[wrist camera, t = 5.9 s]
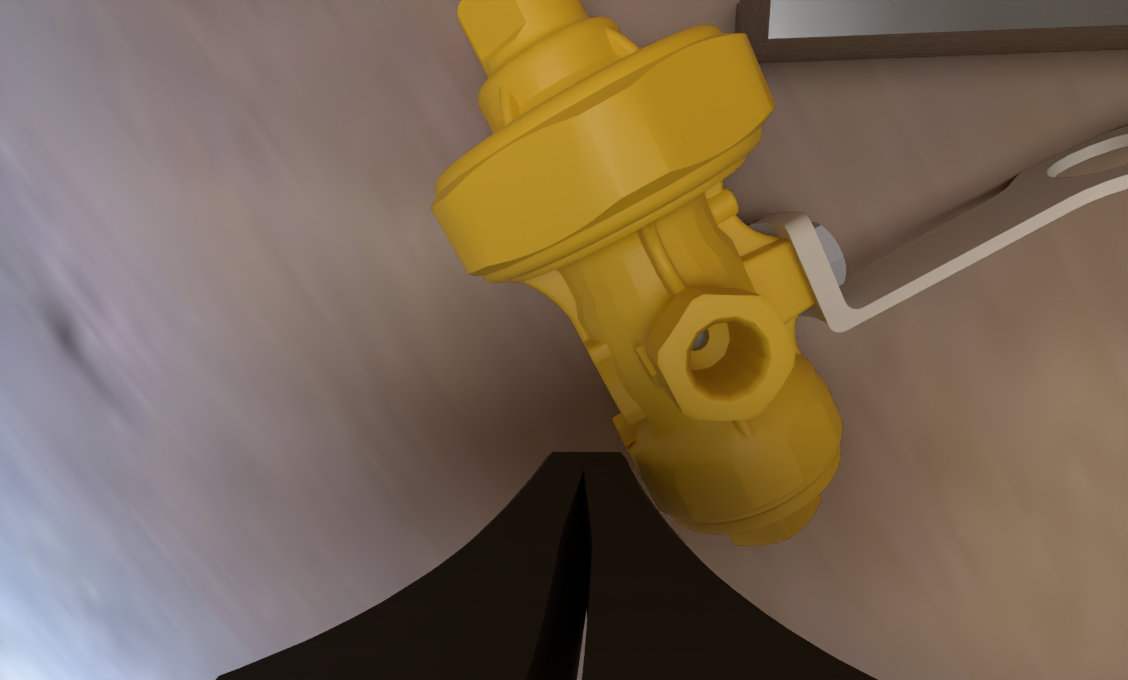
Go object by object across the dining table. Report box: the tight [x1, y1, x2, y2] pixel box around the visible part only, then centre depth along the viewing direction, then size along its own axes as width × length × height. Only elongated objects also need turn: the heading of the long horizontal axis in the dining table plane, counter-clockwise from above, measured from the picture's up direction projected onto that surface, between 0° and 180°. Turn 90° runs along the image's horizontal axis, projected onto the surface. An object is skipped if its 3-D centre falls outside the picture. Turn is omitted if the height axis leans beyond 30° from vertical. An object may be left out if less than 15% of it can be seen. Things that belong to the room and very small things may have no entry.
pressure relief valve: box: [431, 0, 1128, 546], centre depth 10 cm, size 6×12×10 cm
